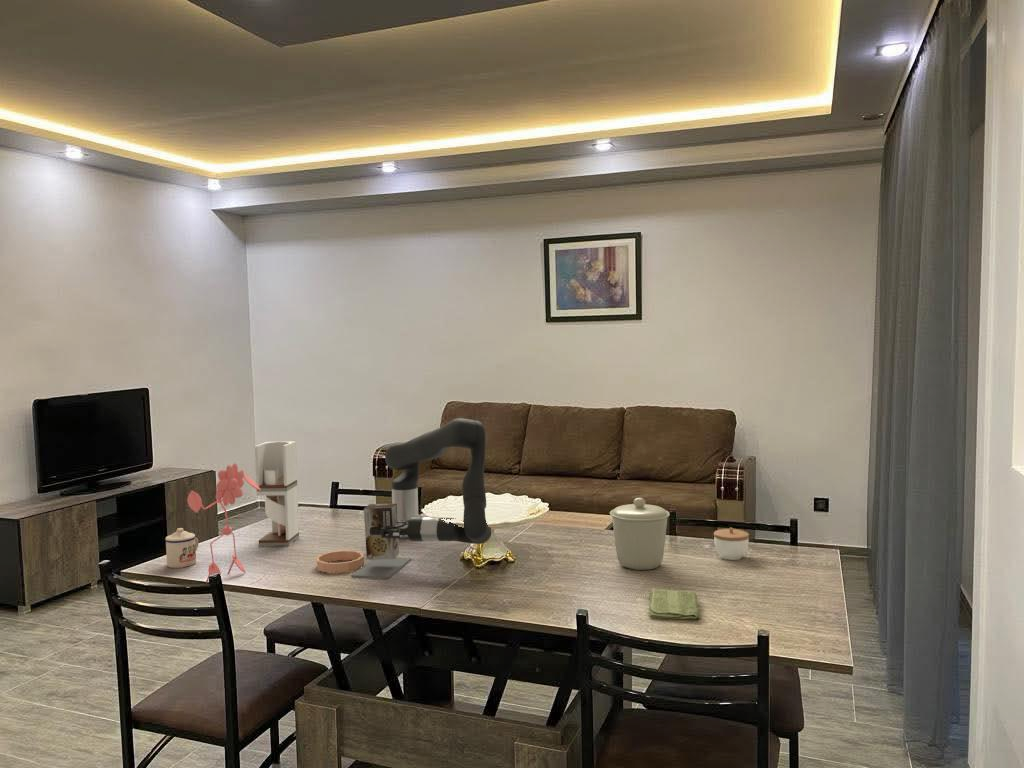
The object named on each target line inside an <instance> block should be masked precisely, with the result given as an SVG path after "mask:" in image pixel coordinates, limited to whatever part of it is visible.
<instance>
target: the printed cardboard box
mask: <svg viewBox="0 0 1024 768" xmlns="http://www.w3.org/2000/svg"><path fill="white" fill-rule="evenodd" d="M363 518H364V535H365V549H366V550H365V552H366V553H365V556H366V559H365V560H367V561H368V560H370V561H371V560H372V559H395V558H396V557H399V555H400V547H399V545H400V544H399V538H382V537H381V535H370V528H371V527H388V526H389V525H394V524H397V504H392V503H370V504H367V506H365V507H364V508H363ZM392 529H393V527H392ZM385 533H388V532H387V531H385Z"/></svg>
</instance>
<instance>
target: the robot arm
mask: <svg viewBox="0 0 1024 768" xmlns="http://www.w3.org/2000/svg"><path fill="white" fill-rule="evenodd" d="M451 447H453V448H454V447H455V448H463V449H469V450H470V454H471V456H470V457H471V461H470V463H469V464H470V465H469V467H468V469H467V470H466V472H465V475H464V477H463V480H462V487H461V490H462V491H461V492H462V502H463V506H464V507H463V518H462V519H463V520H462V521H463V522H464V528H462V527H458V525H456V524H453V523H451V522H449V524H447V523H445V521H444V520H441V519H443V518H444V519H445V518H446V520H447V519H450V520H451V519H454V517H437V516H419V500H418V499H419V497H418V496H419V495H418V493H419V492H418V489H419V488H418V483H419V480H420V479H419V478H420V475H419V474H420V463H423V462H428V461H432V460H436V459H438V458H440V457H442V456H443V455H445V453H446V452H447V450H448V448H451ZM485 453H486V430H485V426H484V424H483V423H482V422H481V421H479V420H475V419H469V418H462V417H457V418H455V419H452V420H451V421H449V422H447V423H446V424H444V425H442V426H440V427H439V428H436V429H433V430H431V431H428V432H425V433H424V434H421V435H419V436H416V437H414V438H412V439H410V440H408V441H406V442H403V443H399V444H393V445H391V446H389V447H388V448H387V450H386V452H385V454H384V455H385V456H384V459H385V463H386V465H387V467H388V468H390V469H391V470H393V471H402V473H401V474H400V475H399V476H398V477H395V478H394V479H393V480H391V500H392V501H391V502H392V503H391V504H397V524H394V525H389V526H388V527H371V528H370V535H381V537H382V538H398V539H400V538H401V539H402V538H403V539H405V538H408V539H409V541H410V542H426V543H427V542H458V543H459V542H460V543H464V544H465V543H467V544H473V545H474V544H477V545H479V544H480V545H481V544H485V543H486V542H487V541H489V539H491V537H492V528H490V527H491V526H490V527H488V525H487V523H488V522H487V520H486V518H487V517H486V508H487V495H486V487H485V457H486V454H485ZM430 517H431V518H430ZM438 520H439V521H438ZM443 521H444V522H443ZM486 522H487V523H486ZM454 525H455V526H454ZM392 527H393V529H392ZM385 531H387V532H388V533H385Z"/></svg>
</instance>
